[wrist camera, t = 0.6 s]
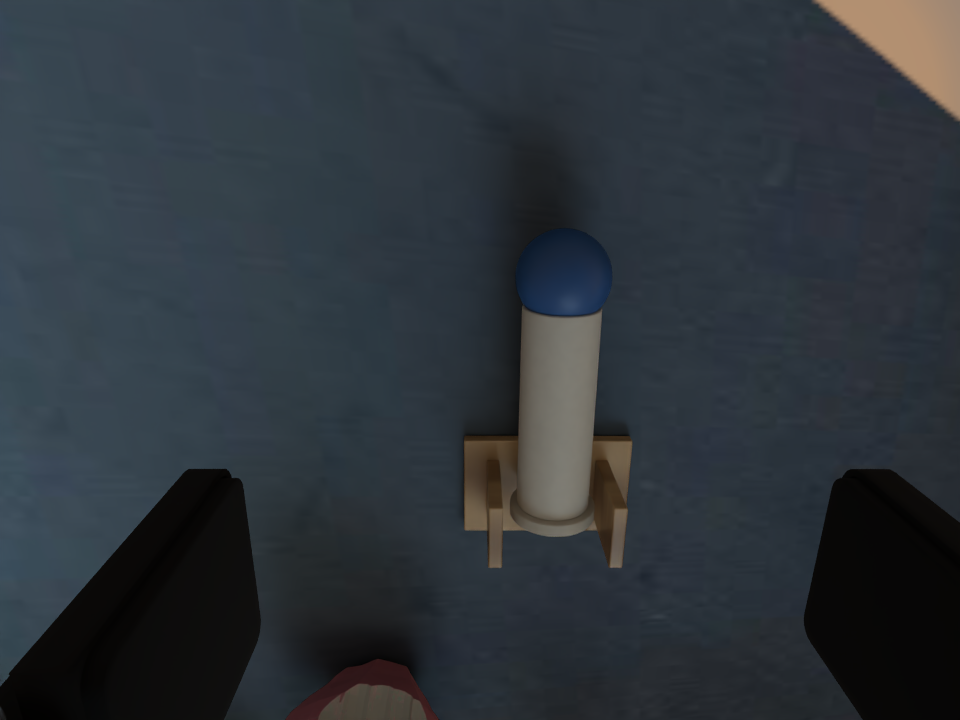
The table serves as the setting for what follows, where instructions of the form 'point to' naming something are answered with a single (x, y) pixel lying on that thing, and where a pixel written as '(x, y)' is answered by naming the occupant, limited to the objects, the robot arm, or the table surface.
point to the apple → (367, 696)
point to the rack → (496, 480)
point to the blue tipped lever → (558, 379)
